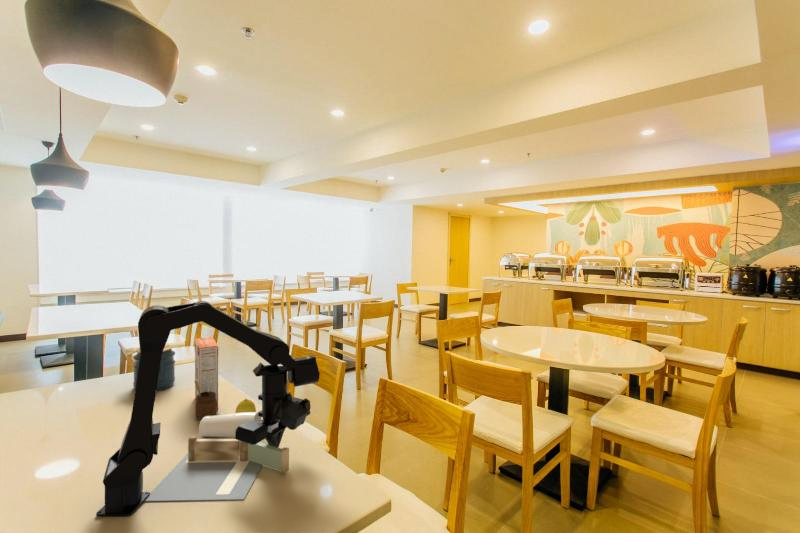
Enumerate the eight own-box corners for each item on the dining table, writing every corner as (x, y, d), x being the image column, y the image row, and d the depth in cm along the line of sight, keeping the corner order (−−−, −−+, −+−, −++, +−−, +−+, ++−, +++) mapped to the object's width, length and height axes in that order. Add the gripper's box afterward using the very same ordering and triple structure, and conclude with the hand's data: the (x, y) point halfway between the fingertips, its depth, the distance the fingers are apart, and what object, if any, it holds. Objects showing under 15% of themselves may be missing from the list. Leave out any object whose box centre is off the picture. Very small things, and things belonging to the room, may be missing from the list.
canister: (143, 395, 128) (143, 345, 128) (126, 387, 135) (126, 339, 134) (182, 384, 139) (182, 338, 139) (164, 377, 146) (164, 333, 145)
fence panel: (246, 460, 89) (246, 440, 89) (252, 457, 91) (252, 437, 91) (285, 473, 85) (285, 452, 84) (290, 469, 86) (290, 448, 86)
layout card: (244, 499, 76) (244, 498, 76) (143, 501, 75) (143, 500, 75) (270, 450, 95) (270, 449, 95) (189, 451, 94) (190, 450, 94)
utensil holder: (220, 415, 114) (221, 377, 114) (200, 423, 109) (201, 383, 109) (210, 410, 118) (210, 373, 117) (190, 417, 112) (190, 379, 112)
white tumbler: (197, 445, 99) (253, 443, 99) (194, 422, 98) (251, 420, 98) (210, 430, 106) (262, 428, 105) (208, 408, 104) (260, 407, 104)
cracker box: (193, 398, 127) (194, 338, 126) (213, 394, 131) (213, 336, 130) (197, 413, 116) (198, 347, 115) (218, 409, 119) (219, 345, 118)
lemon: (248, 419, 112) (249, 393, 112) (259, 425, 109) (259, 398, 108) (231, 426, 108) (231, 399, 107) (241, 432, 104) (242, 404, 104)
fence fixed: (251, 456, 92) (251, 434, 92) (248, 462, 90) (248, 439, 89) (191, 457, 91) (191, 434, 91) (186, 463, 89) (186, 439, 88)
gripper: (271, 413, 77) (271, 484, 78) (325, 382, 94) (325, 441, 95) (233, 402, 81) (233, 470, 82) (291, 375, 98) (291, 431, 99)
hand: (274, 452), depth 90 cm, fingers closed
